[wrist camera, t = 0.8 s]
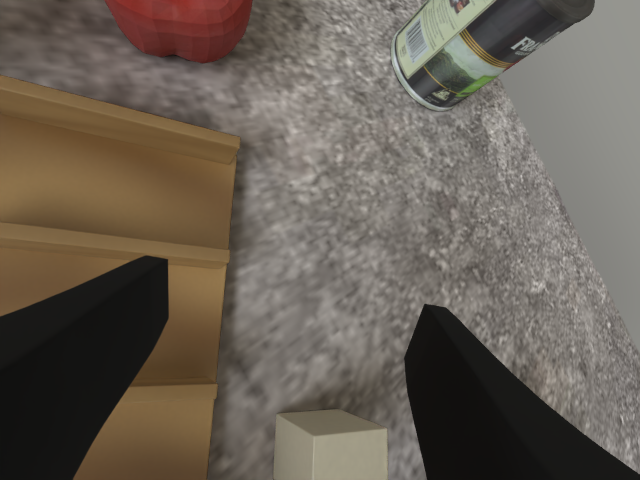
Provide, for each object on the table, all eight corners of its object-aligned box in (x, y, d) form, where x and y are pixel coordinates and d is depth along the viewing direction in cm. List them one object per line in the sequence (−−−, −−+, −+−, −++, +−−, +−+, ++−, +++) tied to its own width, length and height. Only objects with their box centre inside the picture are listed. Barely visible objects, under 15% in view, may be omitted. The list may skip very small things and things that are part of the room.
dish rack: (199, 527, 22) (212, 565, 18) (-135, 592, 16) (-210, 667, 12) (234, 159, 28) (248, 136, 24) (-1, 105, 22) (-25, 63, 18)
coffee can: (474, 95, 43) (610, 3, 31) (424, 125, 38) (563, 30, 26) (430, 17, 42) (551, -109, 30) (372, 37, 37) (490, -104, 25)
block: (338, 468, 26) (389, 503, 21) (272, 478, 24) (311, 520, 19) (339, 408, 27) (387, 428, 22) (276, 413, 25) (313, 435, 20)
